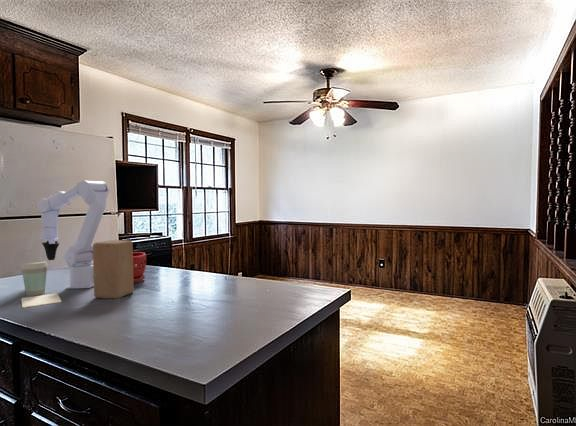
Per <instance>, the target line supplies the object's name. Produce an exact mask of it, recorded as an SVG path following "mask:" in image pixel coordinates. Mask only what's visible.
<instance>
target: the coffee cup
mask: <svg viewBox="0 0 576 426" xmlns="http://www.w3.org/2000/svg"><path fill="white" fill-rule="evenodd" d="M48 267H49V264H48V263H47V261H46V260H33V261H32V260H31V261H25V262H22V263H21V266H20V270H21V272H22V278H23V285H24V290H25V296H27V297H34V296H41V295H45V293H46V286H47V285H46V284H47V275H48V274H47V273H48Z"/></svg>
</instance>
